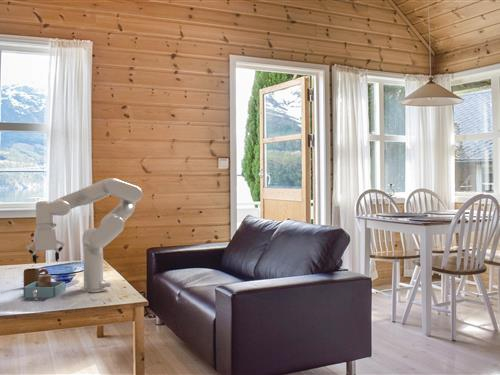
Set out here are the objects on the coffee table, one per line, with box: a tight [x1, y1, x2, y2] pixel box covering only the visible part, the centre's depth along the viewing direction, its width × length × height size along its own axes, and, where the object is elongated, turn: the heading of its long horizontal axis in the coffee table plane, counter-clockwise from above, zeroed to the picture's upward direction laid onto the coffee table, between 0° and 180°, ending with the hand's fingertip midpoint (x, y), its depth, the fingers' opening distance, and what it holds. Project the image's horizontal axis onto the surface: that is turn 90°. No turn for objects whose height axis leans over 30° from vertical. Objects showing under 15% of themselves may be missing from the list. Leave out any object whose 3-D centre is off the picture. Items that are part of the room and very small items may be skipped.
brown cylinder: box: [39, 273, 52, 287], centre depth 245 cm, size 5×5×9 cm
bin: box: [23, 281, 67, 298], centre depth 245 cm, size 15×13×6 cm
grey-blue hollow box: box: [20, 290, 50, 302], centre depth 234 cm, size 11×7×5 cm, turn 89°
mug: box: [23, 267, 49, 287], centre depth 264 cm, size 12×8×9 cm, turn 123°
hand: (46, 261), depth 245 cm, fingers open, 9 cm apart
